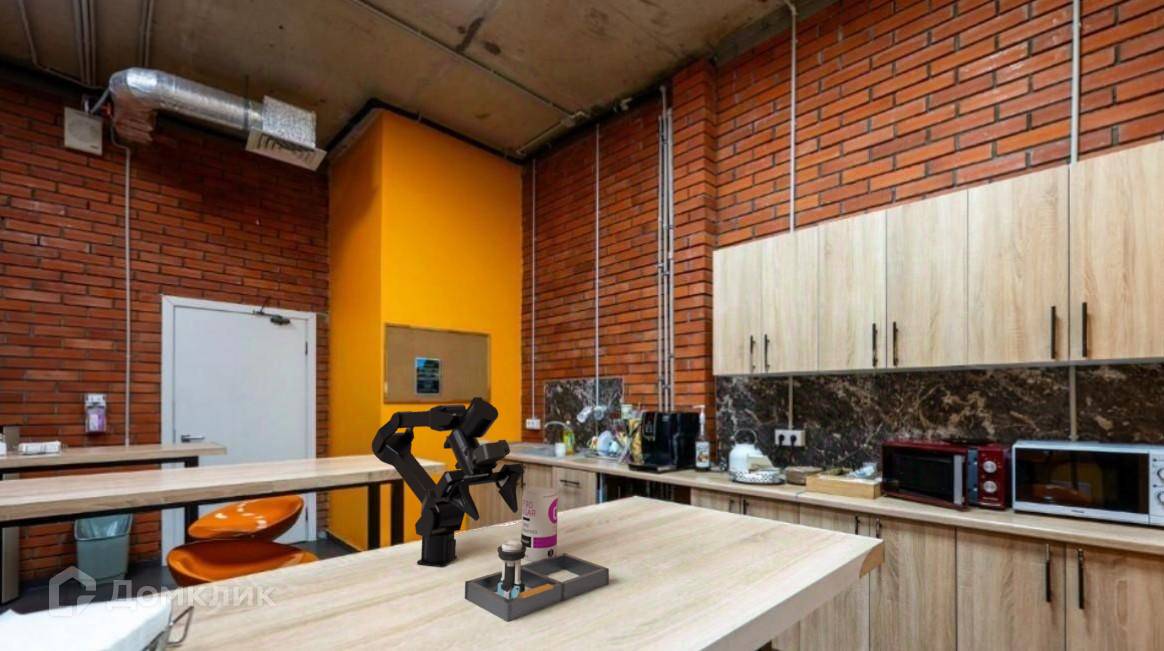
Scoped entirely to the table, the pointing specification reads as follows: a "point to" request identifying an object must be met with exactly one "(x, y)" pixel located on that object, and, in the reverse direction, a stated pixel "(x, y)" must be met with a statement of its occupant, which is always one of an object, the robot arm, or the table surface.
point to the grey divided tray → (537, 586)
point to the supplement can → (539, 523)
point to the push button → (511, 568)
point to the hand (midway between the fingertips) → (497, 515)
